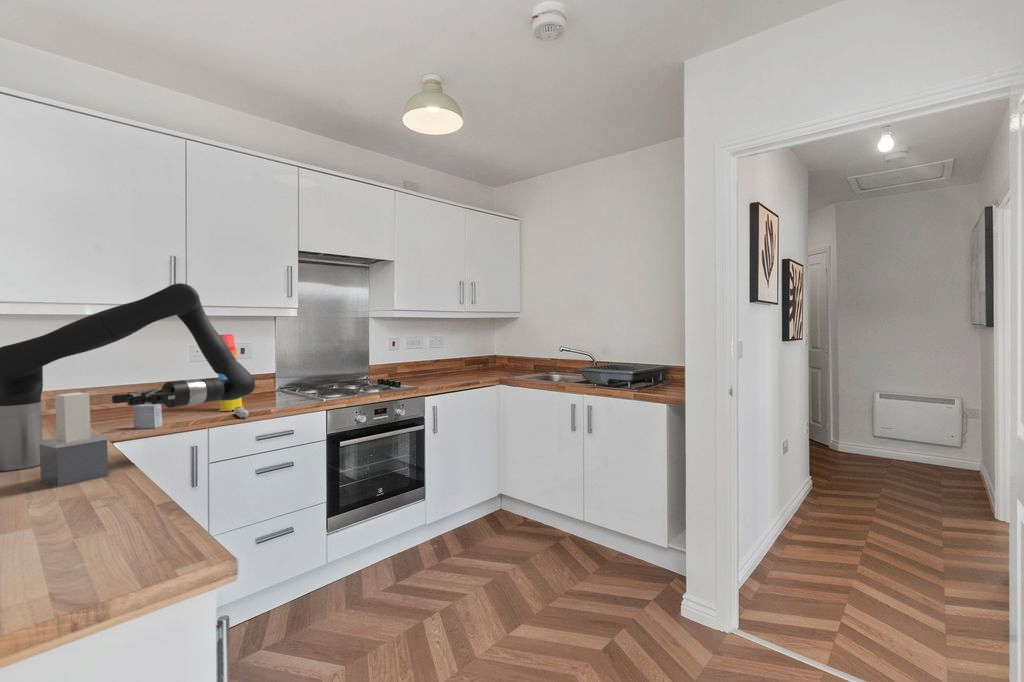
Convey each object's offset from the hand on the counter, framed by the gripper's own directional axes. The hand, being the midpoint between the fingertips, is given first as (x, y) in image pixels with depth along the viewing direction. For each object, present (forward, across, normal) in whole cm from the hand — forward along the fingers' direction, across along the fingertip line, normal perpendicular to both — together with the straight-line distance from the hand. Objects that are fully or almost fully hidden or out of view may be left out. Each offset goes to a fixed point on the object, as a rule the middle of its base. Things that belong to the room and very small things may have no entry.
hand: (120, 400), depth 135 cm
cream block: (+10, 0, +8) cm, 13 cm away
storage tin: (+10, 0, +18) cm, 21 cm away
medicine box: (-33, -58, +18) cm, 69 cm away
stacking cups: (-72, -69, +18) cm, 101 cm away
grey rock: (-64, -49, +19) cm, 82 cm away
